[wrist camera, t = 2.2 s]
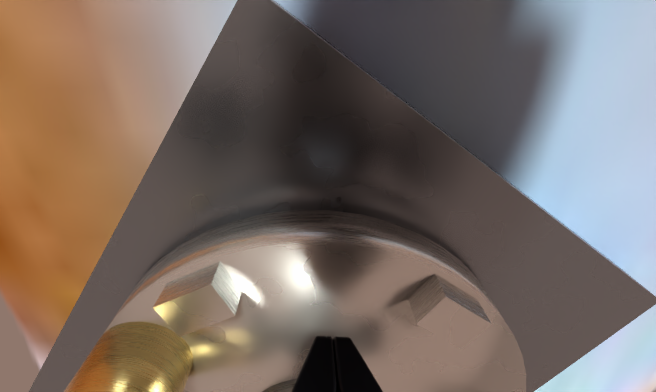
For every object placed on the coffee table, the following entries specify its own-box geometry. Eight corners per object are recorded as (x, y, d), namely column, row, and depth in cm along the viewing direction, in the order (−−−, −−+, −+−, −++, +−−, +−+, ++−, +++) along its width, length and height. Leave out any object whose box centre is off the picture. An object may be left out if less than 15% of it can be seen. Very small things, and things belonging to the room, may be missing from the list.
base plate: (258, -12, 11) (245, -19, 9) (622, 269, 16) (664, 303, 14) (38, 389, 18) (5, 433, 16) (336, 492, 24) (338, 535, 22)
